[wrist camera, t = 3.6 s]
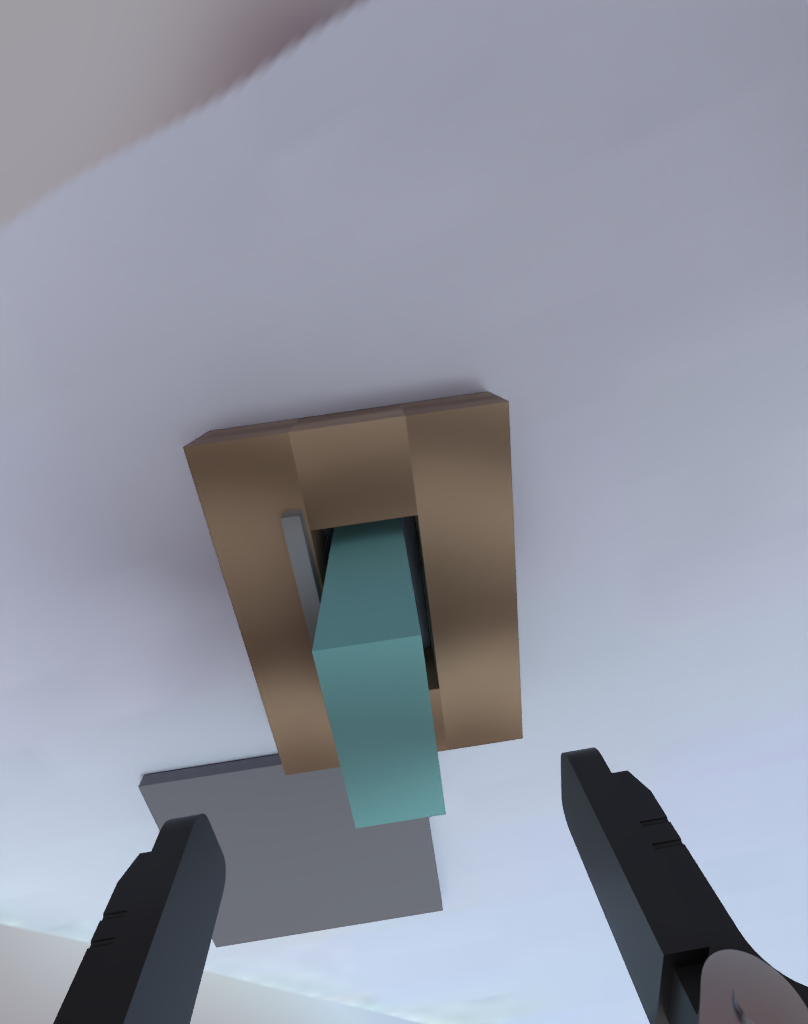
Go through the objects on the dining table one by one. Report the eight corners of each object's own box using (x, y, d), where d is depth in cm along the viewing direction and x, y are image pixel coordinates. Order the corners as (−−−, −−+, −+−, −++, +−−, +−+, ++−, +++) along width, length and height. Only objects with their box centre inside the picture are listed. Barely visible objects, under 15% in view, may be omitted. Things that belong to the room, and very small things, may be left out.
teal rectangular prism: (335, 518, 18) (312, 651, 10) (399, 509, 18) (421, 635, 10) (360, 644, 20) (355, 828, 13) (417, 636, 20) (445, 814, 13)
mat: (144, 775, 22) (138, 786, 21) (415, 733, 22) (416, 743, 21) (219, 934, 27) (216, 947, 26) (441, 898, 27) (442, 910, 26)
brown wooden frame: (209, 431, 16) (175, 452, 13) (488, 391, 16) (514, 404, 14) (294, 727, 21) (282, 788, 18) (506, 694, 22) (527, 750, 19)
